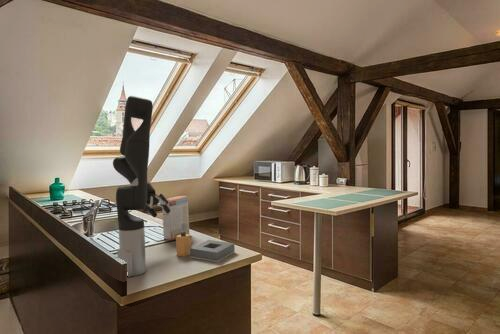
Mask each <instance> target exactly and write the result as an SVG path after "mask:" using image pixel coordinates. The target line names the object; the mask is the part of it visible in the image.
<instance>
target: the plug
mask: <svg viewBox="0 0 500 334" xmlns="http://www.w3.org/2000/svg"><path fill="white" fill-rule="evenodd" d="M190 238H191V234H189V235H188V234H186V232H181V235H178V236H176V239H175V244H176V246H175V248H176V256H180V257H187V256H188V255H189V256H190V248H191V245H192V244H191V240H192V239H191V240H190Z"/></svg>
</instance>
